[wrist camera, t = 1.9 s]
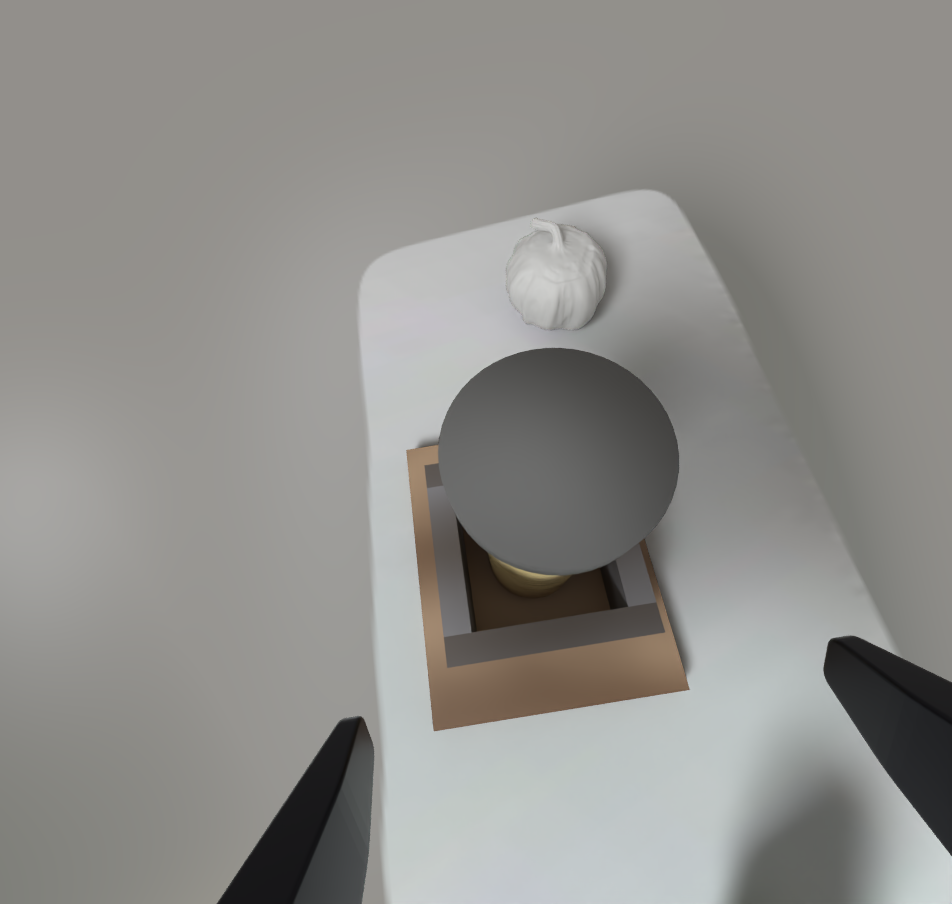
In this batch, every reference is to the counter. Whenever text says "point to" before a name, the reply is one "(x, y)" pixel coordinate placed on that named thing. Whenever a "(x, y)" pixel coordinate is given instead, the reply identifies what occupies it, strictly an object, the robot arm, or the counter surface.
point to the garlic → (556, 276)
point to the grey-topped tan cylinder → (556, 465)
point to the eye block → (530, 625)
